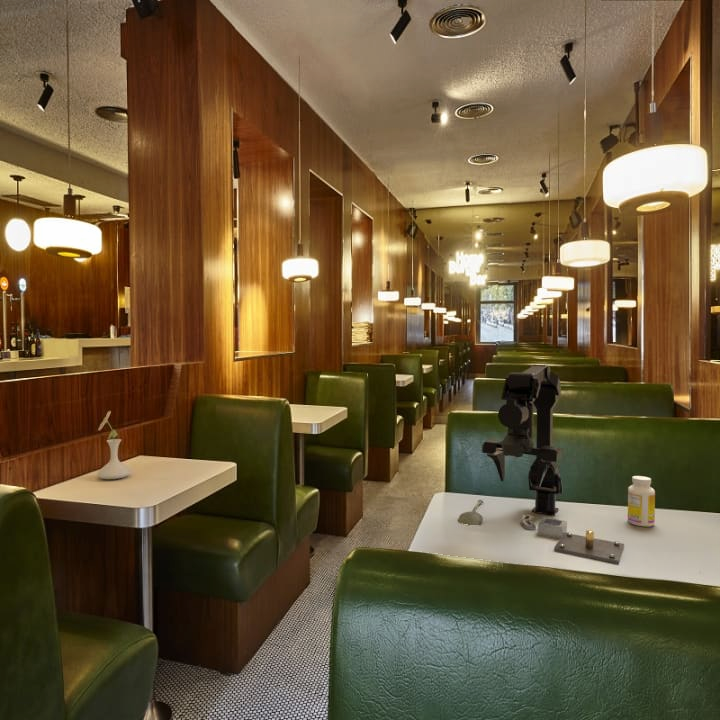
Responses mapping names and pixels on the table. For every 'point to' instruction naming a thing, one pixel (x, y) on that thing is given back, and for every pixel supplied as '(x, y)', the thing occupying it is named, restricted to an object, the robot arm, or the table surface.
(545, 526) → the end link
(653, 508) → the supplement bottle
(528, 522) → the chain tail
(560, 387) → the robot arm
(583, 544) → the keeper plate
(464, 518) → the soupspoon
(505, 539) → the table surface
